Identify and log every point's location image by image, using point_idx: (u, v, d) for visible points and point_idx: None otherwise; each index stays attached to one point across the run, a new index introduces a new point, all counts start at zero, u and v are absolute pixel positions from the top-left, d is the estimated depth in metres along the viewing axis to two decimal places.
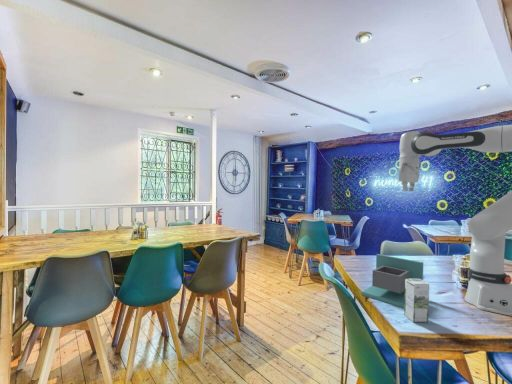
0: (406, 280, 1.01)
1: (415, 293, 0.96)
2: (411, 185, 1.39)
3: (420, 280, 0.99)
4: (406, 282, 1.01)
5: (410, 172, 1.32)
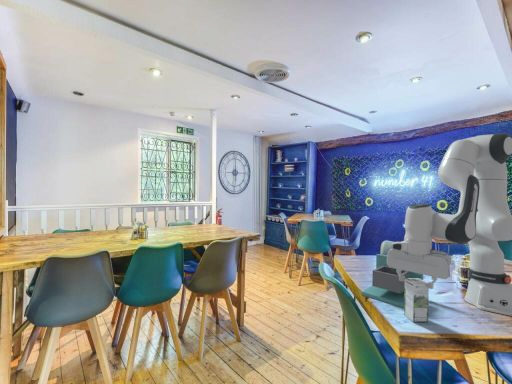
0: (405, 280, 1.01)
1: (414, 293, 0.96)
2: (399, 272, 1.03)
3: (419, 280, 0.99)
4: (405, 282, 1.01)
5: None
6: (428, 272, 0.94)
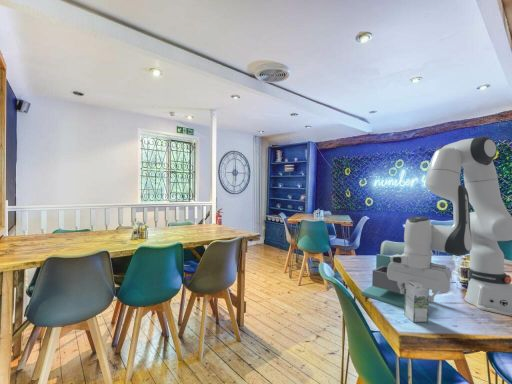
0: None
1: (415, 293, 0.96)
2: (400, 285, 1.03)
3: None
4: None
5: None
6: (428, 286, 0.95)
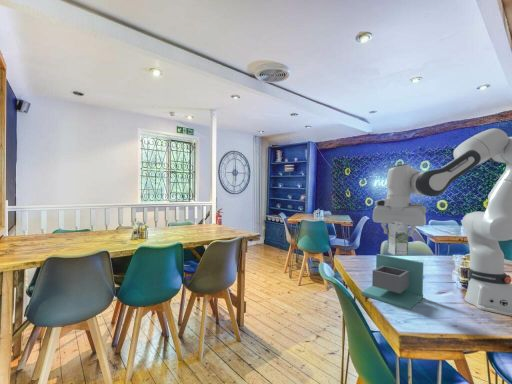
0: None
1: (396, 230, 1.11)
2: (384, 226, 1.17)
3: None
4: None
5: None
6: (407, 222, 1.09)
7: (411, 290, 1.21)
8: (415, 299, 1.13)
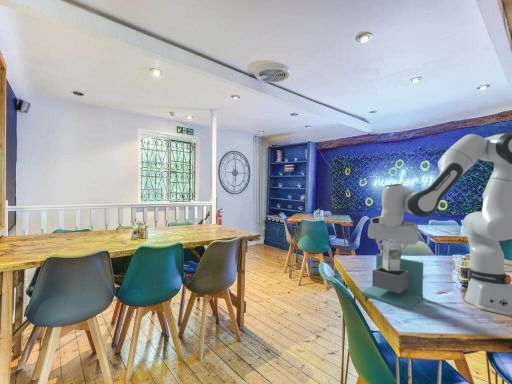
0: None
1: (389, 247, 1.16)
2: (378, 242, 1.22)
3: None
4: None
5: None
6: (400, 240, 1.14)
7: (411, 290, 1.21)
8: (415, 299, 1.13)
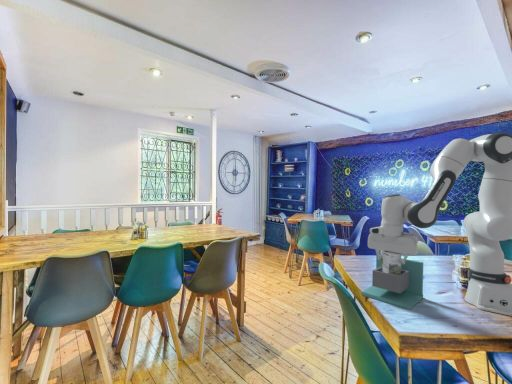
0: (383, 252, 1.20)
1: (389, 262, 1.16)
2: (378, 252, 1.22)
3: None
4: (383, 253, 1.20)
5: None
6: (400, 250, 1.14)
7: (411, 290, 1.21)
8: (415, 299, 1.13)
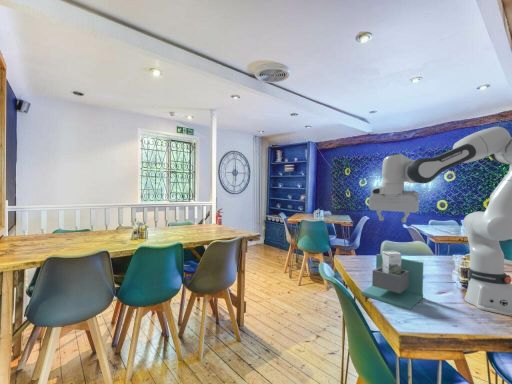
0: (383, 252, 1.20)
1: (389, 262, 1.16)
2: (379, 213, 1.23)
3: (394, 251, 1.19)
4: (383, 253, 1.20)
5: None
6: (401, 208, 1.14)
7: (411, 290, 1.21)
8: (415, 299, 1.13)
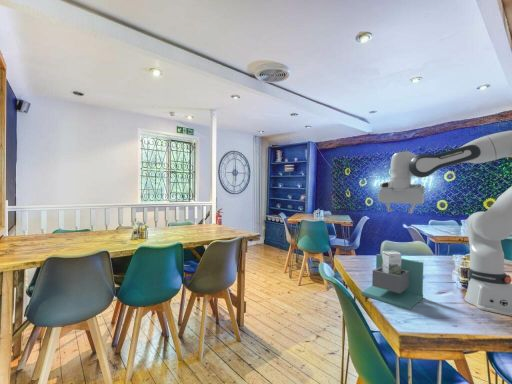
0: (383, 252, 1.20)
1: (389, 262, 1.16)
2: (388, 205, 1.35)
3: (394, 251, 1.19)
4: (383, 253, 1.20)
5: None
6: (408, 200, 1.27)
7: (411, 290, 1.21)
8: (415, 299, 1.13)
